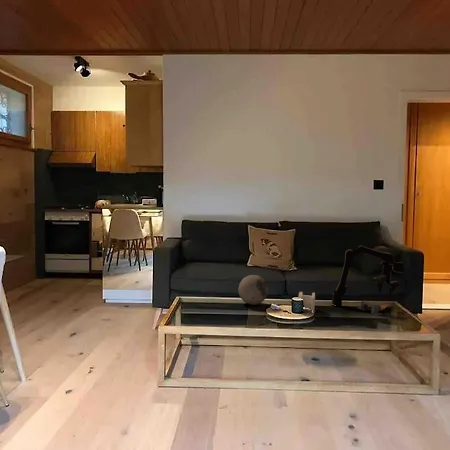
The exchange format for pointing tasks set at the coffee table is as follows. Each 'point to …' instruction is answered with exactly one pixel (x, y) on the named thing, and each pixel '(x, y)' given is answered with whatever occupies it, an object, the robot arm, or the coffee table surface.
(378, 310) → the plug
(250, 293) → the moon model
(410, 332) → the coffee table surface
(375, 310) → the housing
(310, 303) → the cable organizer
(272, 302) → the coffee table surface
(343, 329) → the coffee table surface
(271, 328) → the coffee table surface
